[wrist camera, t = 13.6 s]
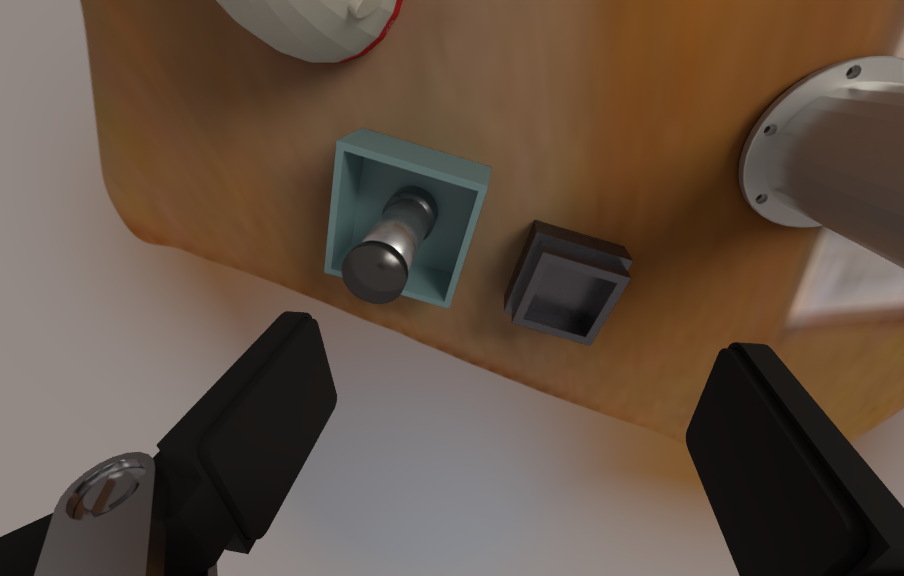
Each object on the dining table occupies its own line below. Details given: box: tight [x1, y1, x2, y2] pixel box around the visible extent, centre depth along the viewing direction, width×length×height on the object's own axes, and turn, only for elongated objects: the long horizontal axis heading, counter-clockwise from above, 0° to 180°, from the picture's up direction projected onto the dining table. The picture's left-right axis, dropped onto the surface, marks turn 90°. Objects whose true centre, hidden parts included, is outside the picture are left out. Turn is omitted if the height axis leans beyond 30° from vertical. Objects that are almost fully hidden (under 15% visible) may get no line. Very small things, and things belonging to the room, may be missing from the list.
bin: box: [324, 128, 491, 309], centre depth 35 cm, size 12×12×6 cm
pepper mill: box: [342, 186, 438, 304], centre depth 31 cm, size 5×5×13 cm
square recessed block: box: [504, 220, 633, 346], centre depth 37 cm, size 9×9×6 cm
